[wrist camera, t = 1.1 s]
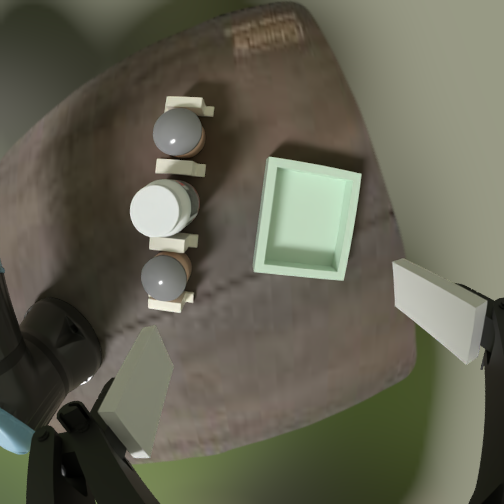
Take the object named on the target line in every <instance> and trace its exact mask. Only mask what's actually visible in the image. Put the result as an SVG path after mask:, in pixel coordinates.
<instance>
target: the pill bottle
mask: <svg viewBox="0 0 504 504" xmlns="http://www.w3.org/2000/svg"><path fill="white" fill-rule="evenodd" d="M199 206H200V201H199V196H198V193H197V192H196V190H195V189H194V187H193V186H192V185H190V184H189V183H187V182H185V181H182V180H170V179H161V180H156V181H153V182H151V183H149V184H148V185H147V186H145V187H144V188H142V189H141V190H139V191H138V192H137V193H136V195H135V196H134V198H133V200H132V202H131V206H130V216H131V220H132V223H133V225H134V226H135V228H136V229H137V230H138V231H139V232H141V233H142V234H144V235H146V236H149V237H167V236H171V235H174V234H176V233H178V232H180V231H181V230H182V229H183V228H185V227H186V226H187V225H188V224H190V223H191V222H192V221H193V220H194V218H195V217H196V215H197V213H198V211H199Z"/></svg>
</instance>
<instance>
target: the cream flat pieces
mask: <svg viewBox="0 0 504 504" xmlns="http://www.w3.org/2000/svg"><path fill="white" fill-rule="evenodd" d="M174 108H185V109H188V110H190V111H192V112H193V113H195V114H196V115H197V116H205V117H213V114H214V107H211V106H206V105H205V103H204V100H203V98H199V97H172V96H167V100H166V105H165V111H164V113H165V112H166V111H168V110H171V109H174ZM205 171H206V164H197V163H195V162H194V161H186V160H172V159H157V163H156V171H155V173H160V174H174V175H187V176H198V177H205ZM197 246H198V235H197V234H188V233H176V234H174V235H171V236H167V237H150V243H149V249H151V250H159V251H168V252H176V253H184V252H185V251H186V250H187V248H188V247H195V248H197ZM148 297H149V299H148V308H151V309H157V310H164V311H171V312H178V313H181V311H182V308H183V306H184V303H185V302H192V303H193V301H194V292H188V291H183V293H182V294H181V295H180V296H179V297H178V298H176V299H175V300H172V301H159V300H156V299H154V298H153V297H151V296H150V295H149V294H148Z"/></svg>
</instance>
